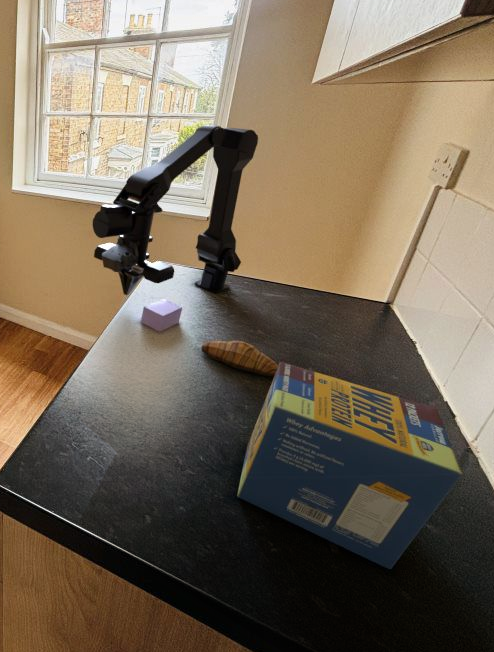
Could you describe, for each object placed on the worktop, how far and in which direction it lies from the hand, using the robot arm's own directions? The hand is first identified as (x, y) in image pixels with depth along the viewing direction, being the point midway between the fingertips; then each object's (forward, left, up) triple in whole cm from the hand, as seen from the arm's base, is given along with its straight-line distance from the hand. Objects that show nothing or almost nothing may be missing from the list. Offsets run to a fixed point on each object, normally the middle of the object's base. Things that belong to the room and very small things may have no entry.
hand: (126, 294), depth 97 cm
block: (0, +10, -3) cm, 10 cm away
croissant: (+1, +28, -3) cm, 28 cm away
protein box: (+22, +48, -3) cm, 53 cm away
